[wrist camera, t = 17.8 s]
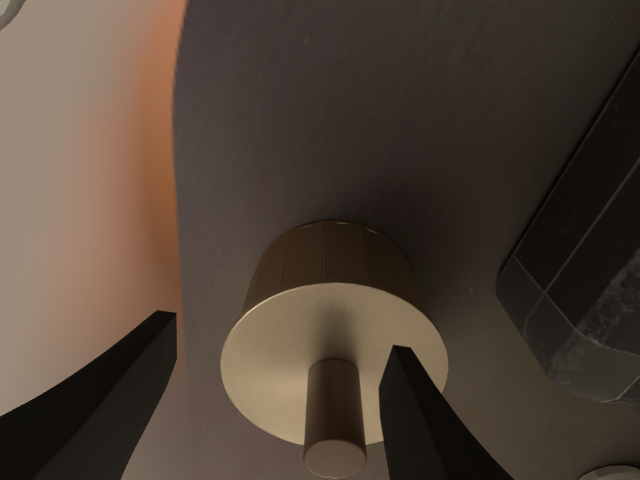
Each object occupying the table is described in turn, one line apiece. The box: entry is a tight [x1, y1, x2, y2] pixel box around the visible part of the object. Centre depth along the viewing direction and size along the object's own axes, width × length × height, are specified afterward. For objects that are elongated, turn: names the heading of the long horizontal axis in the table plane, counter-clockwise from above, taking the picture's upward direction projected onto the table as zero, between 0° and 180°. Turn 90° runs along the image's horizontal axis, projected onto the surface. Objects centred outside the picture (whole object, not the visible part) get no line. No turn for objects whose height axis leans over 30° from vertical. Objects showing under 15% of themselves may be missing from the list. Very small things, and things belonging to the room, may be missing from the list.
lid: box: [220, 277, 449, 478], centre depth 17 cm, size 11×11×5 cm
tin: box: [241, 220, 426, 313], centre depth 21 cm, size 10×10×6 cm
